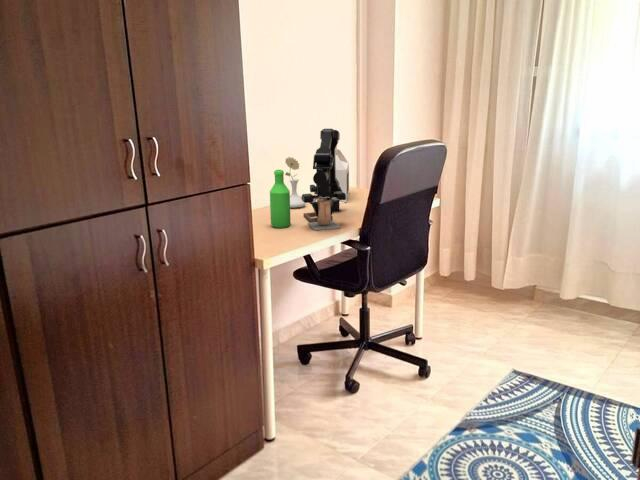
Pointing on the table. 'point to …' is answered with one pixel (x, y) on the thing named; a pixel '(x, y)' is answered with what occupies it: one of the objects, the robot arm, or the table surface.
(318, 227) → the pad
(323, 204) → the jug
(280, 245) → the table surface
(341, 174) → the gable box
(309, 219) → the holder
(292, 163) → the flower in vase
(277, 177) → the bottle
